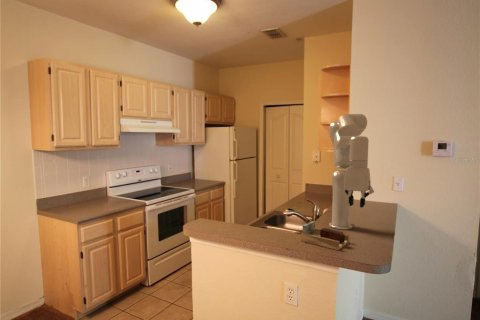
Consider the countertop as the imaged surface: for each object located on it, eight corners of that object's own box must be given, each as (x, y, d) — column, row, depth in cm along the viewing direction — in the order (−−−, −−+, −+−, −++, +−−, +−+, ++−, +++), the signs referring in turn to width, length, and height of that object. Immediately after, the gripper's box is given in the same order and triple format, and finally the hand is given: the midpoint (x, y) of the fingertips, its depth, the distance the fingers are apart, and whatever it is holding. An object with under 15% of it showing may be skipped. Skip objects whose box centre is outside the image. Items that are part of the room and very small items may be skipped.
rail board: (313, 234, 149) (313, 220, 148) (348, 242, 137) (349, 227, 137) (300, 240, 139) (301, 226, 138) (338, 250, 127) (338, 233, 127)
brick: (319, 238, 138) (320, 229, 138) (323, 236, 141) (323, 227, 141) (341, 244, 131) (341, 234, 131) (344, 242, 134) (345, 232, 134)
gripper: (336, 163, 130) (334, 204, 131) (376, 166, 119) (374, 210, 120) (342, 163, 135) (340, 202, 136) (381, 165, 125) (379, 207, 126)
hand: (356, 205), depth 128 cm, fingers open, 3 cm apart
